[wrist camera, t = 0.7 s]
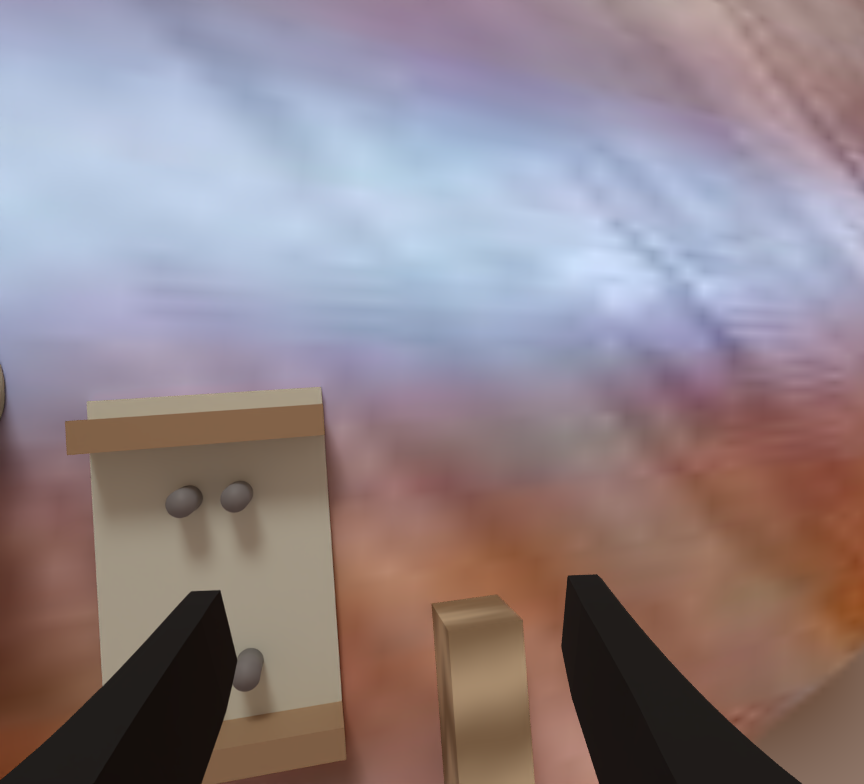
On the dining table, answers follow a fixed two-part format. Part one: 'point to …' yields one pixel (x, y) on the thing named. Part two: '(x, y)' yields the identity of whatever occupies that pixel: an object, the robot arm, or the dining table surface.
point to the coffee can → (1, 392)
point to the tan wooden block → (482, 692)
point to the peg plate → (225, 555)
